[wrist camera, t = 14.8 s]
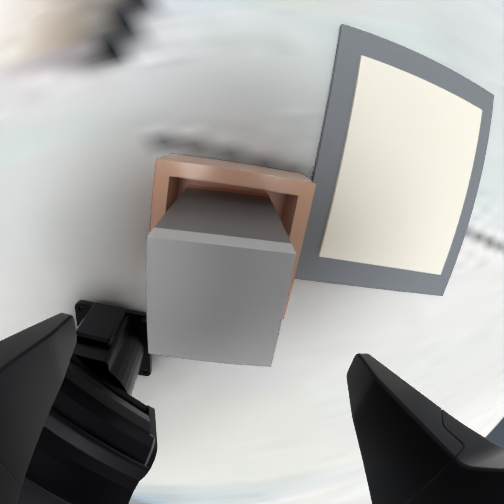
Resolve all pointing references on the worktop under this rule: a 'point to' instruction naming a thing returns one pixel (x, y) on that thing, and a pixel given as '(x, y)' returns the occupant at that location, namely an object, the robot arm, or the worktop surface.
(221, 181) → the copper square tube
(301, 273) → the writing mat
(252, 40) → the worktop surface
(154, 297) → the grey square block
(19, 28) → the worktop surface
